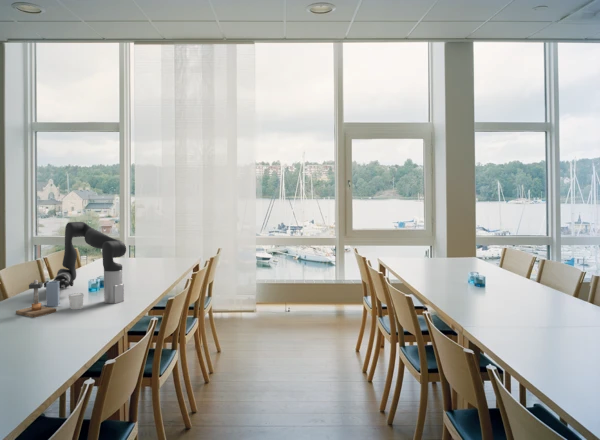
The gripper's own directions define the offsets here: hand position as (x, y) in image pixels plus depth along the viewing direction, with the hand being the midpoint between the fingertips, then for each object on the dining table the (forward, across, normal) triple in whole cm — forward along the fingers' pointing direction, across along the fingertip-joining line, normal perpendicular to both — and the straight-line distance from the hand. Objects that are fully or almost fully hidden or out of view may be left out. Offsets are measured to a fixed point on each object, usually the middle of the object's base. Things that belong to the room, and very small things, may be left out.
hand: (56, 286), depth 232 cm
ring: (+25, -5, -5) cm, 26 cm away
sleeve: (+11, 0, +7) cm, 14 cm away
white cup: (+21, +12, +8) cm, 25 cm away
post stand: (+25, -5, +7) cm, 26 cm away
